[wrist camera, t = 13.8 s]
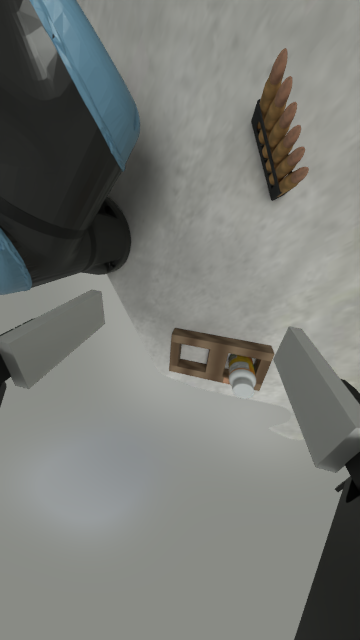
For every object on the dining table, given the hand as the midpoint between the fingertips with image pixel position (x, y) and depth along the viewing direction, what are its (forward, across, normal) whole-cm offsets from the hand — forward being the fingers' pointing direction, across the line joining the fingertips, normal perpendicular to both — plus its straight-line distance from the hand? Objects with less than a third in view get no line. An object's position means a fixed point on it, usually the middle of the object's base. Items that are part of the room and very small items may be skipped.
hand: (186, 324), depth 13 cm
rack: (+25, +6, -22) cm, 33 cm away
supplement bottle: (+25, +12, -21) cm, 35 cm away
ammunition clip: (+26, +6, +16) cm, 31 cm away
